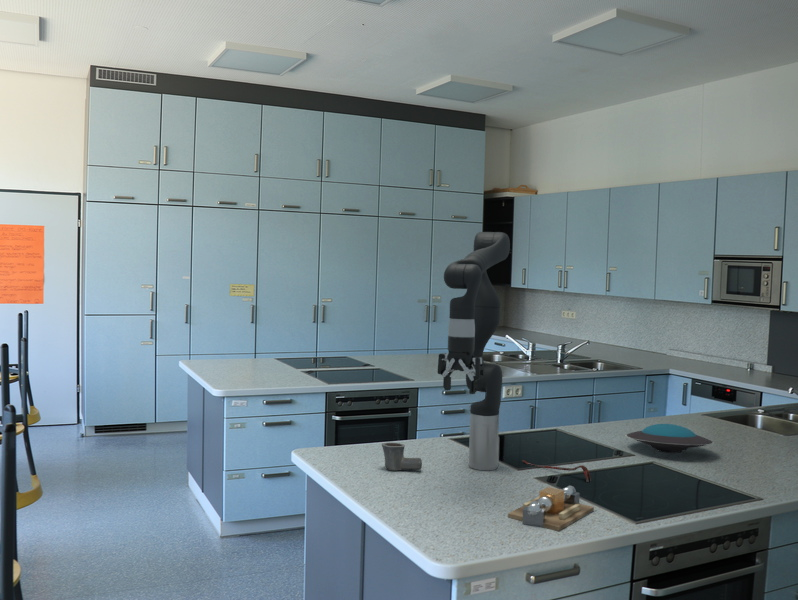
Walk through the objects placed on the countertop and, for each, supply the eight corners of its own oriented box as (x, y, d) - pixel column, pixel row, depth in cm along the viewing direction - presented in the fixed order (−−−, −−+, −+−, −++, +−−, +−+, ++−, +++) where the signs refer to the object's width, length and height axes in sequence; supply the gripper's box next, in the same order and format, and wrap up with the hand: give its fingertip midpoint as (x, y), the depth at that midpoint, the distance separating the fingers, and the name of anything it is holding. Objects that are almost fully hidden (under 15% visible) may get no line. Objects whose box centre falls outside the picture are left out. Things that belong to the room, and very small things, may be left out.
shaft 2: (562, 501, 187) (562, 483, 187) (579, 505, 184) (579, 487, 184) (555, 505, 184) (555, 487, 184) (572, 509, 181) (573, 491, 181)
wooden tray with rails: (545, 498, 189) (545, 489, 189) (593, 510, 180) (593, 501, 180) (508, 517, 174) (508, 507, 174) (558, 531, 165) (558, 520, 165)
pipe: (419, 474, 210) (420, 448, 210) (378, 471, 212) (379, 445, 212) (422, 469, 216) (423, 443, 216) (383, 465, 218) (383, 441, 218)
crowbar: (592, 482, 207) (590, 465, 207) (587, 483, 205) (586, 466, 206) (526, 473, 227) (525, 458, 227) (521, 475, 225) (520, 459, 226)
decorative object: (718, 450, 250) (719, 422, 250) (705, 467, 226) (706, 437, 225) (635, 438, 266) (636, 412, 265) (615, 453, 241) (616, 425, 241)
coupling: (552, 503, 182) (552, 484, 182) (567, 507, 180) (568, 488, 179) (534, 512, 175) (534, 493, 175) (550, 517, 172) (551, 497, 172)
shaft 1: (525, 518, 173) (525, 499, 173) (545, 521, 171) (545, 502, 171) (522, 524, 169) (523, 504, 169) (543, 526, 168) (543, 507, 167)
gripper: (490, 336, 192) (488, 393, 192) (448, 332, 201) (447, 387, 201) (475, 337, 186) (473, 396, 187) (433, 333, 195) (431, 390, 196)
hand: (459, 391), depth 194 cm, fingers open, 8 cm apart
